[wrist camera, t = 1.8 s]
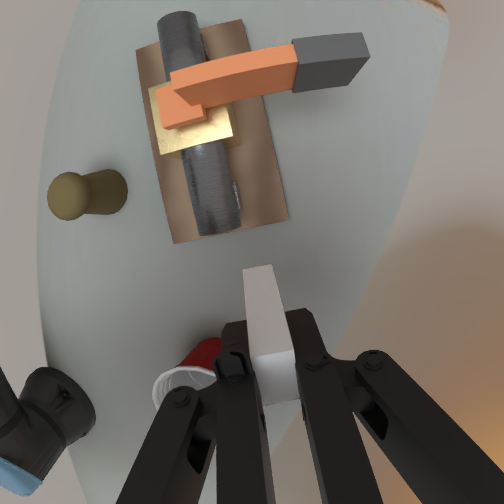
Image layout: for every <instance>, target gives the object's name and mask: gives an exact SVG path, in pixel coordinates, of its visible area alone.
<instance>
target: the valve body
mask: <svg viewBox="0 0 504 504" xmlns="http://www.w3.org/2000/svg"><path fill="white" fill-rule="evenodd" d="M157 28H158V35H159V41H160V47H161V53H162V59H163V64H164V70H165V76H166V81H167V82H166V83H163V84H160V85H157V86H154V87H151V88H148V91H149V97H150V103H151V108H152V114H153V119H154V125H155V130H156V135H157V140H158V145H159V150H160V155H162V156H167V157H172V158H176V159H181V160H182V162H183V167H184V171H185V176H186V180H187V185H188V189H189V194H190V198H191V203H192V207H193V211H194V216H195V220H196V224H197V228H198V232H199V236H208V235H214V234H218V233H223V232H227V231H230V230H234V229H237V228H239V227H241V226H242V223H241V219H240V214H239V210H241V209H242V208H243V203H242V199H241V194H240V190H239V185H238V182H232V178H231V174H230V169H229V165H228V160H227V155H226V151H225V149H229V148H233V147H237V146H241V141H240V137H239V132H238V128H237V123H236V119H235V115H234V110H233V106H232V102H229V103H225V104H221V105H217V106H213V107H209V108H205V111H206V116H207V120H203V121H200V122H196V123H192V124H189V125H185V126H182V127H178V128H175V129H171V130H166V129H164V128H162V124H161V119H160V113H159V108H158V102H157V97H156V91H155V90H156V89H159V88H162V87H165V86H169V85H172V82H171V77H170V72H174V71H177V70H180V69H183V68H187V67H190V66H194V65H197V64H201V63H204V62H208V61H211V58H210V54H209V49H208V45H207V42H206V40H205V38H204V36H203V34H202V33H201V34H200V32H199V27H198V22H197V18H196V15H195V14H194V13H192V12H188V11H178V12H173V13H170V14H168V15H165V16H164V17H162V18H161V19H160V20H159V21H158V23H157Z"/></svg>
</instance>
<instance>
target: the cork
mask: <svg viewBox="0 0 504 504" xmlns="http://www.w3.org/2000/svg"><path fill="white" fill-rule="evenodd" d="M127 193H128V190H127V184H126V182H125V179H124V178H123V176H122V175H121V174H120V173H119V172H117V171H115V170H110V169H107V170H103V171H99V172H95V173H91V174H87V175H83V176H81V175H79V174H77V173H73V172H66V173H63V174H60V175H59V176H57V177H56V178H55V179H54V180H53V182H52V183H51V184H50V186H49V189H48V194H47V200H48V205H49V208H50V210H51V211H52V213H53V214H54V215H55V216H56V217H58V218H59V219H62V220H67V221H69V220H74V219H77V218H78V217H80V216H82V215H83V214H103V215H109V214H114V213H116V212H118V211H119V210H120V209H121V208H122V207H123V206H124V204H125V201H126V199H127Z"/></svg>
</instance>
